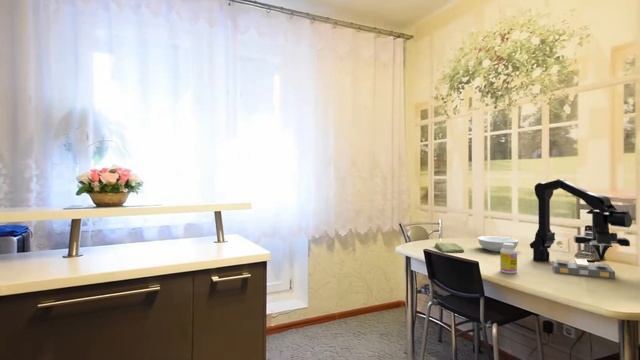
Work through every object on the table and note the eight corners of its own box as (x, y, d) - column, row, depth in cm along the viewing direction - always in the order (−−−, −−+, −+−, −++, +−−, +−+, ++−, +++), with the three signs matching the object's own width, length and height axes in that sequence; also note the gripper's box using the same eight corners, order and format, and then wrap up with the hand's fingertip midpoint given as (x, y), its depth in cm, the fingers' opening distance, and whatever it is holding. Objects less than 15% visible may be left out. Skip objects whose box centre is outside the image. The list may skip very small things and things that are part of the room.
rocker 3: (597, 266, 150) (597, 263, 150) (594, 264, 155) (594, 261, 155) (609, 267, 148) (609, 264, 148) (605, 265, 153) (605, 262, 153)
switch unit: (554, 272, 155) (554, 265, 155) (552, 267, 164) (552, 260, 164) (615, 279, 145) (615, 270, 145) (609, 272, 154) (609, 265, 154)
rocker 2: (577, 266, 153) (577, 263, 153) (575, 261, 159) (575, 258, 158) (588, 267, 151) (588, 264, 151) (586, 262, 157) (586, 259, 156)
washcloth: (442, 253, 198) (442, 248, 198) (433, 247, 216) (433, 242, 216) (465, 253, 198) (465, 247, 198) (455, 247, 215) (455, 241, 215)
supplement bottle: (510, 274, 154) (510, 245, 154) (497, 271, 160) (497, 243, 159) (520, 272, 157) (520, 244, 157) (506, 269, 163) (506, 241, 163)
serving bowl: (526, 254, 192) (526, 241, 192) (488, 254, 192) (487, 242, 192) (506, 246, 213) (506, 235, 212) (472, 247, 213) (472, 235, 213)
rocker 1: (558, 262, 157) (558, 259, 157) (556, 261, 162) (556, 259, 162) (568, 263, 155) (568, 260, 155) (567, 262, 160) (567, 259, 160)
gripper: (577, 226, 151) (577, 262, 151) (633, 228, 142) (634, 266, 142) (573, 222, 160) (573, 256, 161) (625, 224, 151) (626, 260, 152)
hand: (600, 260), depth 153 cm, fingers closed
